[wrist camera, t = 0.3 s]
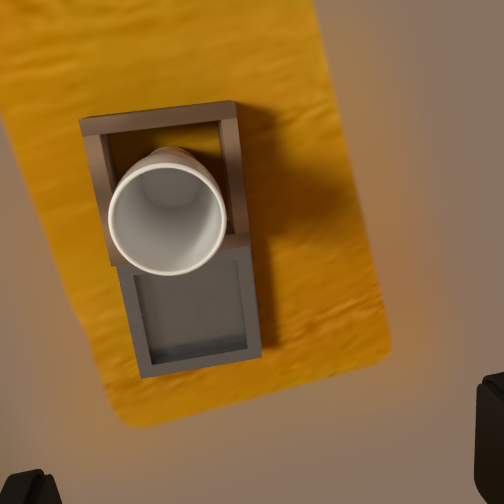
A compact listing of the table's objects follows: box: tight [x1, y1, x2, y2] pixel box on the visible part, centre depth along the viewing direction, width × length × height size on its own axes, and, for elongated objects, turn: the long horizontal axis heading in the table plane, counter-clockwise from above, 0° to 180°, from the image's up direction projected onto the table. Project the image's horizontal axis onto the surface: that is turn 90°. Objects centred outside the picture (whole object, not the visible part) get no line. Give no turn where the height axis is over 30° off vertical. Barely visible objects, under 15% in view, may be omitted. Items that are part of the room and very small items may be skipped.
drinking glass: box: [108, 146, 227, 276], centre depth 33 cm, size 7×7×15 cm
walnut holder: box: [79, 100, 251, 266], centre depth 38 cm, size 11×11×4 cm
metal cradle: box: [116, 246, 262, 379], centre depth 43 cm, size 11×12×2 cm
